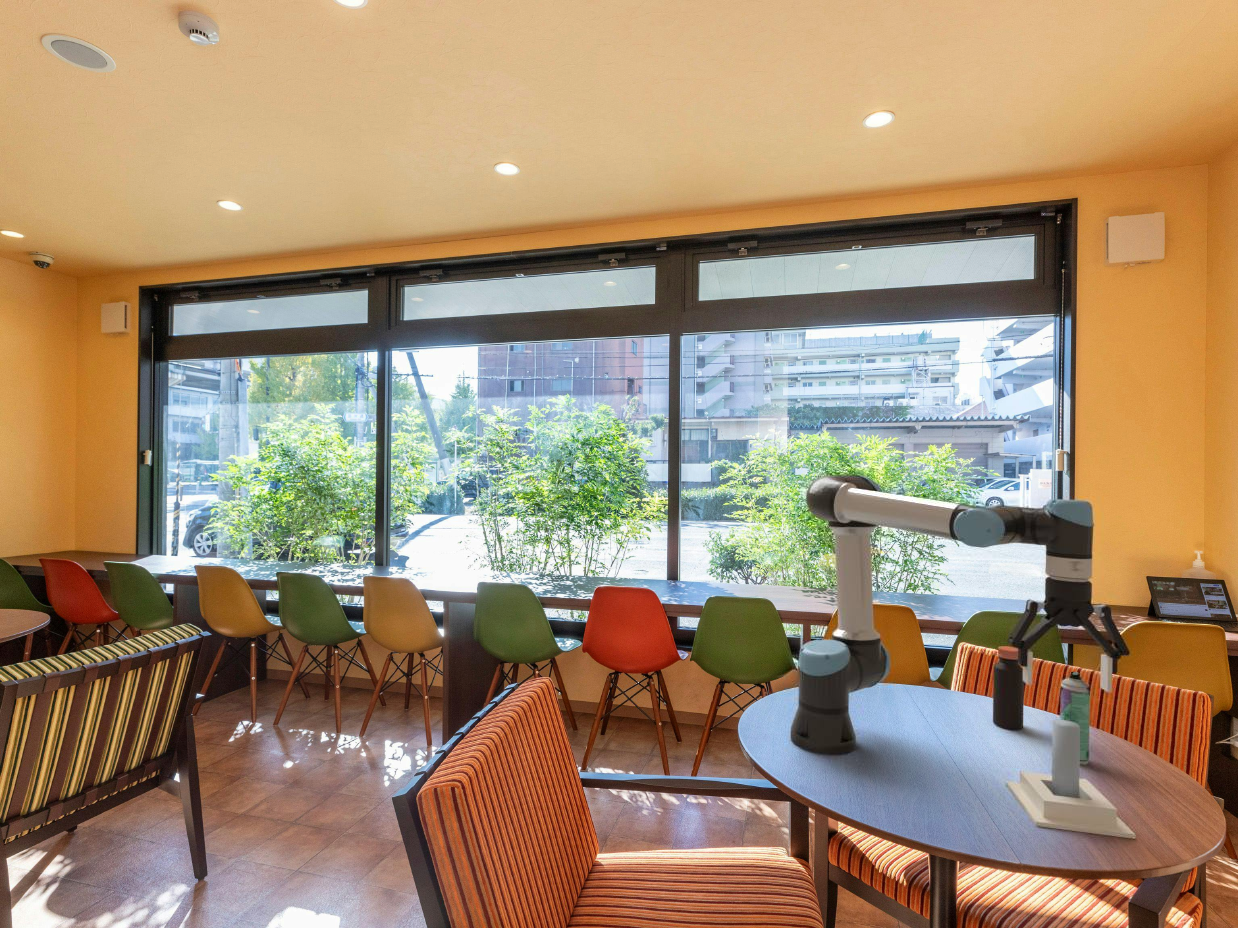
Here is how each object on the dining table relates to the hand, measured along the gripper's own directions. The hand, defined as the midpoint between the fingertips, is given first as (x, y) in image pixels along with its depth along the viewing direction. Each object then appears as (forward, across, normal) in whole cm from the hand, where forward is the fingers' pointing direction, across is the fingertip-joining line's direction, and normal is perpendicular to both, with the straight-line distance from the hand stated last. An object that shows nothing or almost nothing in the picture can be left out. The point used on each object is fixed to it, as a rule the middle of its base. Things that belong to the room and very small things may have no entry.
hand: (1066, 686), depth 126 cm
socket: (+24, 0, 0) cm, 24 cm away
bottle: (+24, +4, +44) cm, 50 cm away
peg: (+23, 0, 0) cm, 23 cm away
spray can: (+24, +12, +26) cm, 37 cm away
